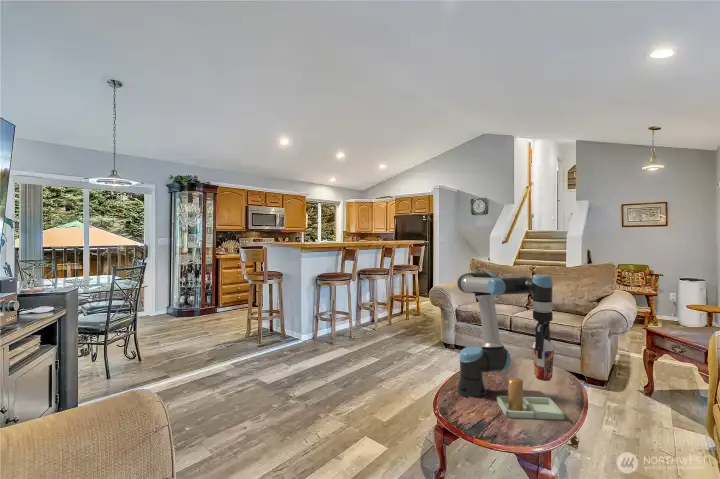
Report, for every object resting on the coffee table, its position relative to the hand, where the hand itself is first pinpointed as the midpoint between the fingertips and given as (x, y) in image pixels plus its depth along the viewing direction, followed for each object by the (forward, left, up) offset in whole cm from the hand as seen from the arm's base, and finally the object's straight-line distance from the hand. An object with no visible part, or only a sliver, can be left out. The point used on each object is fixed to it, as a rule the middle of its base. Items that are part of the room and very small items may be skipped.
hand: (543, 362), depth 146 cm
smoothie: (0, 0, -7) cm, 7 cm away
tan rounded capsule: (-7, +15, -29) cm, 33 cm away
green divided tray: (0, +15, -30) cm, 33 cm away
